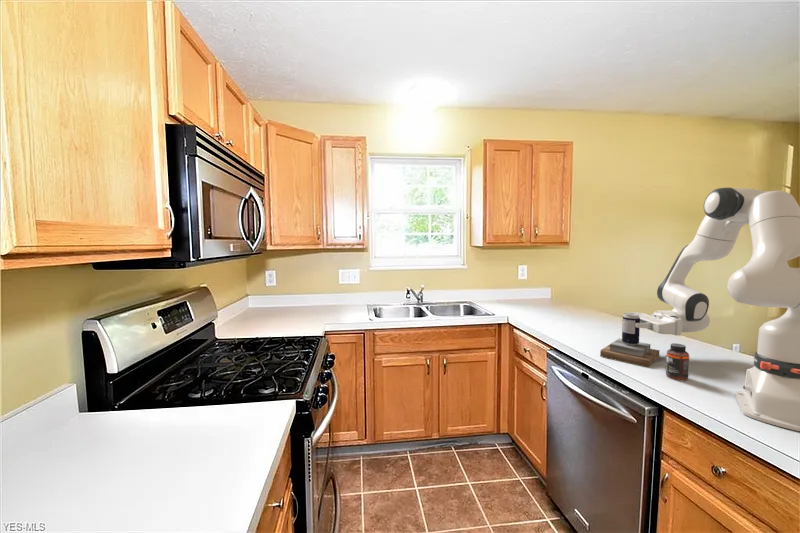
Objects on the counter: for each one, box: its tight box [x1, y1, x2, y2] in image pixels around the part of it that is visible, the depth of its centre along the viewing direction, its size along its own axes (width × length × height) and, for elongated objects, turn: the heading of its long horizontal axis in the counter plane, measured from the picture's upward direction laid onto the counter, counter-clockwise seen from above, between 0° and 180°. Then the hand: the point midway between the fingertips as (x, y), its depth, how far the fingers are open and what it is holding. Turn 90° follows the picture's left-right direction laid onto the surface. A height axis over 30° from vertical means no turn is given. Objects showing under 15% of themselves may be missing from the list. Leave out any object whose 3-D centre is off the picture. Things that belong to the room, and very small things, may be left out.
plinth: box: [599, 337, 660, 368], centre depth 138 cm, size 16×16×5 cm
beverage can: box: [621, 312, 641, 345], centre depth 137 cm, size 6×6×12 cm
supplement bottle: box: [665, 342, 690, 381], centre depth 117 cm, size 6×6×11 cm
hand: (628, 322), depth 137 cm, fingers closed on beverage can, 6 cm apart
